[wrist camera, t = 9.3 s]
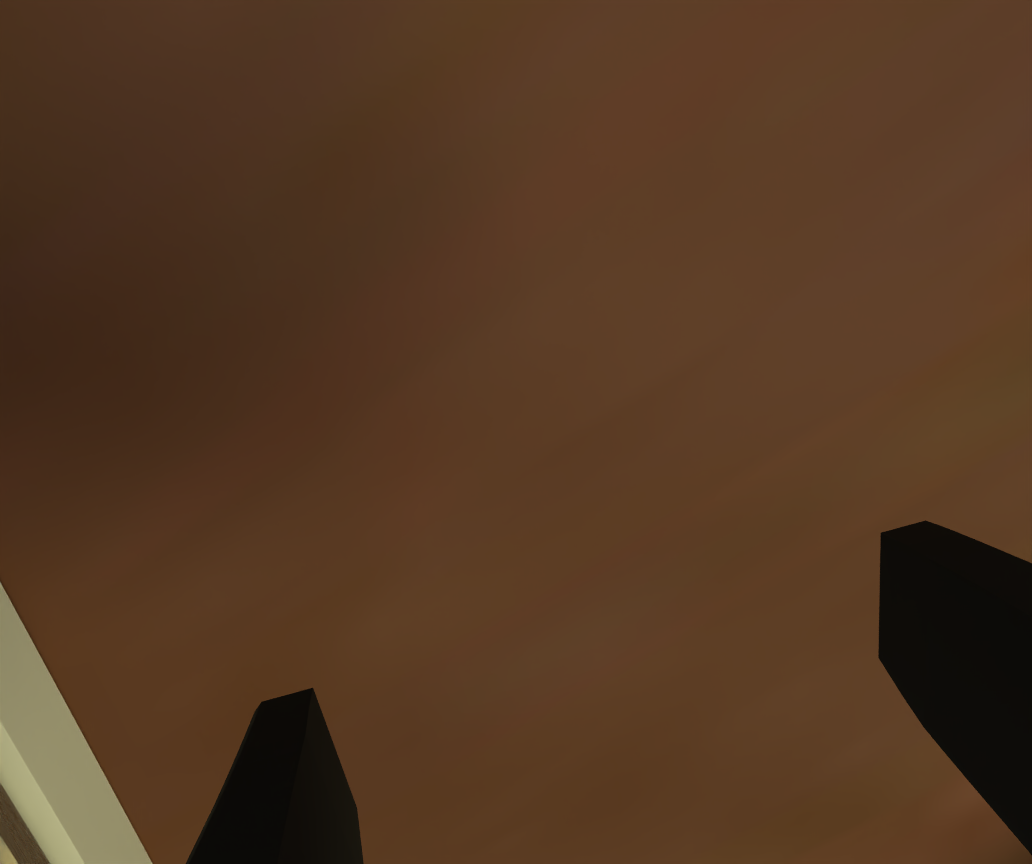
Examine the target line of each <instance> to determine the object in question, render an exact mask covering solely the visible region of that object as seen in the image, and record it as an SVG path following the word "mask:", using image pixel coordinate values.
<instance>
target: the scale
mask: <svg viewBox="0 0 1032 864" xmlns="http://www.w3.org/2000/svg"><path fill="white" fill-rule="evenodd" d="M0 783H1V785H2V786H3V788H4V789H5V791H6V793H7V794H8V796H9V798H10V799H11V801H12V802H13V804H14V806H15V807H16V809H17V810H18V812H19V814H20V815H21V817H22V819H23V820H24V822H25V823H26V825H27V827H28V828H29V830H30V831H31V833H32V835H33V836H34V838H35V840H36V841H37V843H38V844H39V846H40V848H41V849H42V851H43V852H44V854H45V856H46V857H47V859H48V861H49V862H50V864H152V862H151V860H150V858H149V856H148V855H147V853H146V851H145V849H144V847H143V845H142V844H141V842H140V840H139V838H138V836H137V834H136V832H135V831H134V829H133V827H132V825H131V823H130V821H129V819H128V818H127V816H126V814H125V812H124V810H123V808H122V806H121V805H120V803H119V801H118V799H117V797H116V795H115V794H114V792H113V790H112V788H111V786H110V784H109V782H108V781H107V779H106V777H105V775H104V773H103V771H102V769H101V768H100V766H99V764H98V762H97V760H96V758H95V757H94V755H93V753H92V751H91V749H90V747H89V745H88V744H87V742H86V740H85V738H84V736H83V734H82V732H81V731H80V729H79V727H78V725H77V723H76V721H75V719H74V718H73V716H72V714H71V712H70V710H69V708H68V707H67V705H66V703H65V701H64V699H63V697H62V695H61V694H60V692H59V690H58V688H57V686H56V684H55V682H54V681H53V679H52V677H51V675H50V673H49V671H48V670H47V668H46V666H45V664H44V662H43V660H42V658H41V657H40V655H39V653H38V651H37V649H36V647H35V645H34V644H33V642H32V640H31V638H30V636H29V634H28V632H27V631H26V629H25V627H24V625H23V623H22V621H21V620H20V618H19V616H18V614H17V612H16V610H15V608H14V607H13V605H12V603H11V601H10V599H9V597H8V595H7V594H6V592H5V590H4V588H3V586H2V584H1V583H0Z"/></svg>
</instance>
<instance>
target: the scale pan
mask: <svg viewBox="0 0 1032 864" xmlns="http://www.w3.org/2000/svg"><path fill="white" fill-rule="evenodd" d="M0 864H50V862H49V861H48V859H47V857H46V856H45V854H44V852H43V851H42V849H41V848H40V846H39V844H38V843H37V841H36V840H35V838H34V836H33V835H32V833H31V831H30V830H29V828H28V827H27V825H26V823H25V822H24V820H23V819H22V817H21V815H20V814H19V812H18V810H17V809H16V807H15V806H14V804H13V802H12V801H11V799H10V798H9V796H8V794H7V793H6V791H5V789H4V788H3V786H2V785H1V783H0Z"/></svg>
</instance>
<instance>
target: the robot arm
mask: <svg viewBox="0 0 1032 864" xmlns="http://www.w3.org/2000/svg"><path fill="white" fill-rule="evenodd" d="M879 659H880V661H881V662H882V664H883V665H884V667H885V669H886V670H887V672H888V673H889V675H890V677H891V678H892V680H893V681H894V683H895V685H896V686H897V688H898V689H899V691H900V692H901V694H902V696H903V697H904V699H905V700H906V702H907V703H908V705H909V706H910V708H911V709H912V710H913V712H914V713H915V715H916V716H917V718H918V719H919V721H920V722H921V724H922V725H923V727H924V728H925V729H926V730H927V732H928V733H929V734H930V735H931V737H932V738H933V739H934V740H935V741H936V743H937V744H938V745H939V746H940V747H941V749H942V750H943V751H944V752H945V753H946V755H947V756H948V757H949V758H950V759H951V761H952V762H953V763H954V764H955V765H956V767H957V768H958V769H959V770H960V771H961V772H962V774H963V775H964V776H965V777H966V778H967V780H968V781H969V782H970V783H971V784H972V785H973V787H974V788H975V789H976V790H977V791H978V793H979V794H980V795H981V796H982V797H983V798H984V800H985V801H986V802H987V803H988V804H989V805H990V807H991V808H992V809H993V810H994V811H995V812H996V814H997V815H998V816H999V817H1000V818H1001V819H1002V821H1003V822H1004V823H1005V824H1006V825H1007V826H1008V828H1009V829H1010V830H1011V831H1012V832H1013V834H1014V835H1015V836H1016V837H1017V838H1018V839H1019V841H1020V842H1021V843H1022V844H1023V845H1024V846H1025V848H1026V849H1027V850H1028V851H1029V852H1030V853H1031V855H1032V563H1030V562H1027V561H1025V560H1023V559H1020V558H1018V557H1015V556H1013V555H1011V554H1008V553H1006V552H1004V551H1001V550H999V549H996V548H994V547H992V546H989V545H987V544H984V543H982V542H980V541H977V540H975V539H972V538H970V537H968V536H965V535H963V534H960V533H958V532H955V531H953V530H950V529H947V528H945V527H942V526H939V525H937V524H934V523H931V522H928V521H922V522H919V523H915V524H911V525H908V526H904V527H900V528H897V529H893V530H889V531H886V532H882V533H881V551H880V606H879ZM186 864H363V855H362V846H361V838H360V830H359V821H358V813H357V807H356V804H355V801H354V799H353V796H352V793H351V790H350V788H349V785H348V782H347V779H346V777H345V774H344V771H343V769H342V766H341V763H340V760H339V758H338V755H337V752H336V749H335V747H334V744H333V741H332V739H331V736H330V733H329V730H328V728H327V725H326V722H325V719H324V717H323V714H322V711H321V709H320V706H319V703H318V700H317V698H316V695H315V692H314V689H313V688H311V689H307V690H303V691H300V692H296V693H292V694H289V695H285V696H281V697H278V698H274V699H270V700H267V701H263V702H261V703H260V705H259V706H258V708H257V709H256V711H255V713H254V715H253V717H252V720H251V722H250V725H249V727H248V729H247V732H246V734H245V737H244V739H243V741H242V744H241V746H240V749H239V751H238V753H237V756H236V758H235V760H234V762H233V765H232V767H231V769H230V772H229V774H228V776H227V778H226V780H225V783H224V785H223V787H222V789H221V791H220V794H219V796H218V798H217V800H216V803H215V805H214V807H213V809H212V811H211V813H210V815H209V817H208V819H207V821H206V823H205V825H204V827H203V829H202V831H201V834H200V836H199V838H198V840H197V842H196V844H195V846H194V848H193V850H192V852H191V854H190V856H189V858H188V860H187V862H186Z"/></svg>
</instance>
